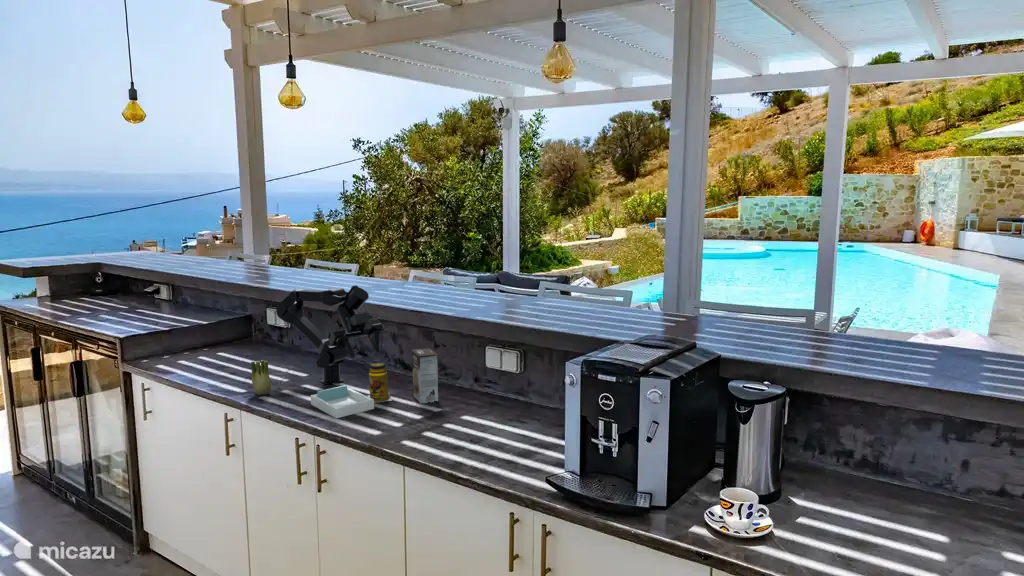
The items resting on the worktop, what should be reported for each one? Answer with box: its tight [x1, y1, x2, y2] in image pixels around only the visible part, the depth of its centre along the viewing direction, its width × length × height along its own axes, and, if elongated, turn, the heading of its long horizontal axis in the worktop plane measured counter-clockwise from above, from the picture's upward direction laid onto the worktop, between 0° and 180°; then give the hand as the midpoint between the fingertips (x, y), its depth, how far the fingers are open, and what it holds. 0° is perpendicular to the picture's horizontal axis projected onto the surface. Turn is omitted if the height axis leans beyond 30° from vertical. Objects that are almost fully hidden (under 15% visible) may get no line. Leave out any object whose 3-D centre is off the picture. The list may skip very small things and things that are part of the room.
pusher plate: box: [316, 384, 348, 401], centre depth 213 cm, size 1×10×4 cm, turn 131°
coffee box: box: [411, 347, 439, 405], centre depth 214 cm, size 9×6×16 cm
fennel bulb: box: [250, 359, 272, 396], centre depth 222 cm, size 6×5×12 cm
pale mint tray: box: [310, 386, 375, 419], centre depth 209 cm, size 19×13×3 cm
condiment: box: [367, 362, 393, 404], centre depth 215 cm, size 7×8×12 cm
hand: (366, 354), depth 220 cm, fingers open, 9 cm apart
